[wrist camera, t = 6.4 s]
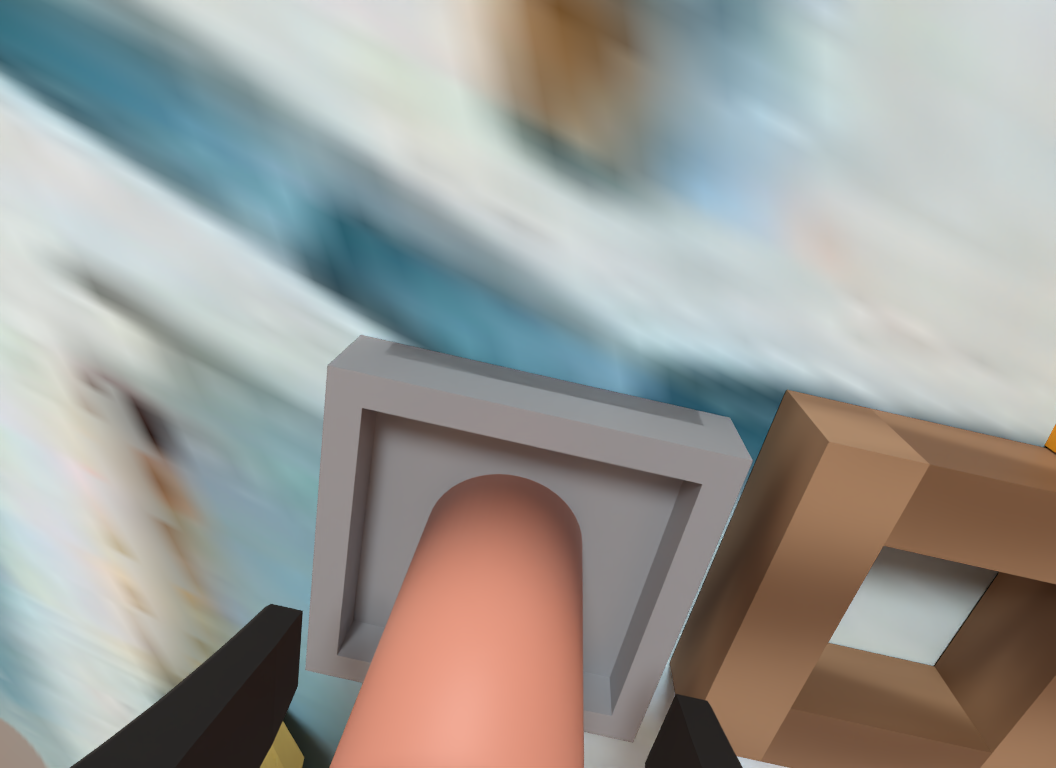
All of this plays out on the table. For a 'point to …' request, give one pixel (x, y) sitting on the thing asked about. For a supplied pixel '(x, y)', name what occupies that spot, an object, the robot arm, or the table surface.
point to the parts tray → (530, 452)
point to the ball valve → (283, 752)
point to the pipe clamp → (1052, 440)
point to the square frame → (836, 575)
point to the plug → (480, 640)
